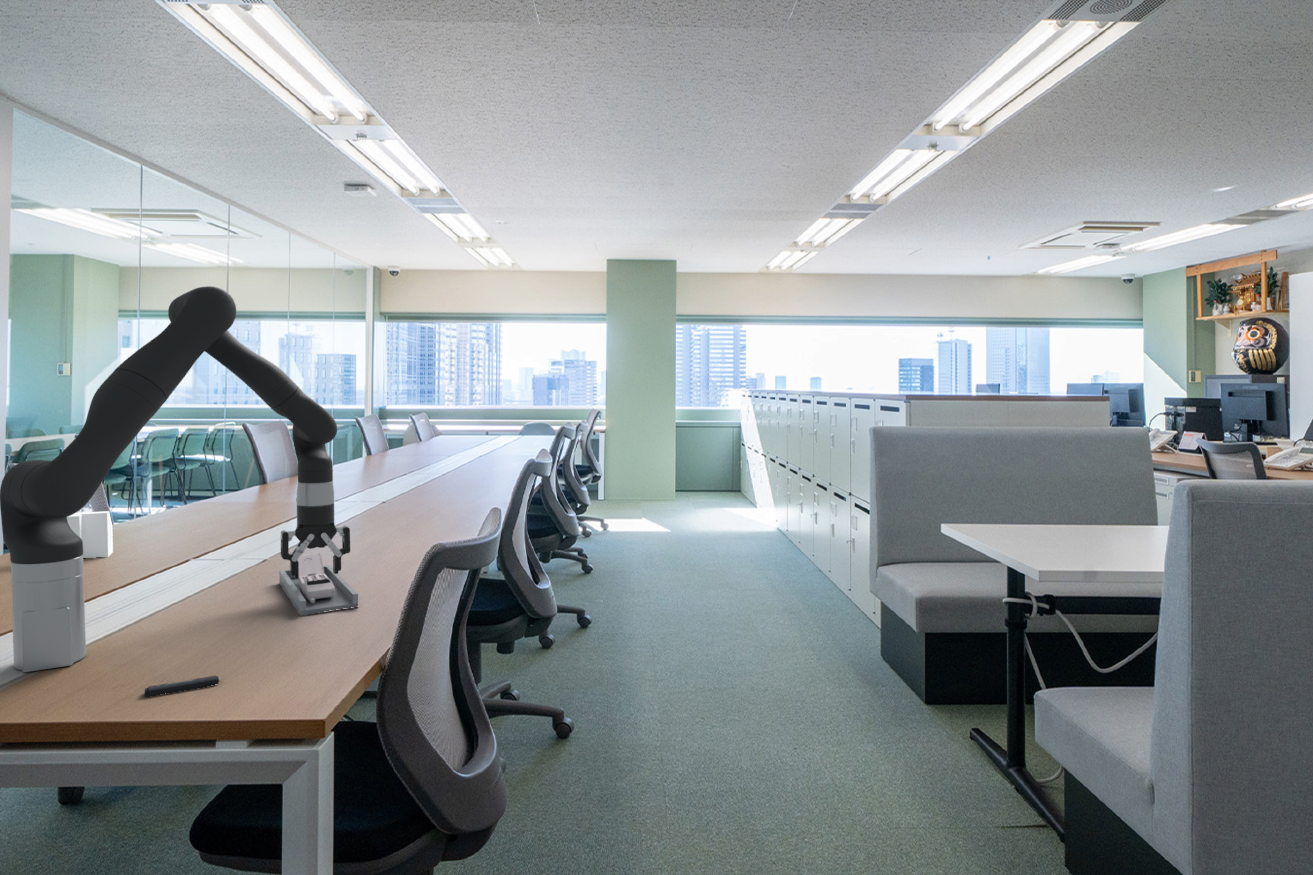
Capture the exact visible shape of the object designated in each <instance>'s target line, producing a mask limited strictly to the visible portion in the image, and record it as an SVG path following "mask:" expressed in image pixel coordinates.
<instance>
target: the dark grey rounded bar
mask: <svg viewBox="0 0 1313 875" xmlns="http://www.w3.org/2000/svg"><path fill="white" fill-rule="evenodd" d="M219 682H220V679H219V676H217V675H210V676H206V677H205V676H204V677H200V678H199V677H198V678H193V679H192V678H191V679H187V680H179V681H175V682H174V681H173V682H168V683H167V682H166V683H162V684H156V685H149V686H147V687H145V689H144V697H145V698H151V697H150V696H153V697H157V696H156V695H159V696H161V695H160V694H165V693H166V694H165V695H168V694H167V693H170V694H174V693H173V692H176V693H180V692H179V691H182V692H185V691H184V690H188V691H192V690H191V689H194V690H198V689H197V688H200V689H204V688H203V687H205V688H208V687H207V686H211V685H215V684H218V685H219ZM211 687H212V686H211Z"/></svg>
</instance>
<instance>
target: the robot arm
mask: <svg viewBox="0 0 1313 875" xmlns="http://www.w3.org/2000/svg"><path fill="white" fill-rule="evenodd" d="M167 312H168V313H167V314H168V319H169V321H170V323H169V324H168V325H167V326H166V327H165V329H163V330H162V331H161V332H160V333H159V334H158V335H157V336H155V337H154V338H153V339H151V340H150V341H148V342H147V343H145V344H144V345H143V346H141V347H140V348H139V349H138V350H136V351H134V353H132V354H131V355H129V357H127V358H126V359H125V360H123V361H122V363H121V364H120V365H118V366H117V367H116V368H115V369H114V371H112V373H111V374H109V375H108V377H107V378H106V379H104V381H103V382H102V383H101V385H100V386H99V387H98V388H97V389H96V391H95V393H94V395H93V396H92V398H91V401H90V404H89V408H88V411H87V416H86V419H85V422H84V425H83V426H82V428H81V430H80V431H79V433H78V434H77V436H76V437H75V438H74V439H73V440H72V441H71V443H69V445H67V447H65V449H64V450H63V451H61V452H60V453H59V454H58V455H57V456H56V457H55V458H53V459H52V460H46V459H31V460H25V461H21V462H18V463H17V464H15V465H14V466H12V467H10V468H9V470H7V472H6V473H5V475H4V476H3V478H2V481H1V485H0V516H1V518H0V519H1V529H2V530H1V531H2V537H3V541H4V544H5V547H7V549H8V552H9V557H10V558H9V561H10V577H11V578H10V584H11V585H10V587H11V589H10V590H11V594H10V595H11V619H12V620H11V622H12V644H13V645H12V648H13V649H12V650H13V668H14V669H16V670H19V671H22V673H27V672H35V671H42V670H47V669H48V670H49V669H55V668H61V667H62V668H63V667H68V666H73V664H74V663H76V662H79V661H80V660H83V659H84V658H85V657H86V656H87V652H86V651H87V643H86V641H87V640H86V639H87V638H86V616H85V615H86V613H85V612H86V610H85V608H86V606H85V577H84V576H85V575H84V570H85V569H84V559H83V542H82V539H81V538H80V537H79V536H78V535H77V534H75V533H74V532H73V531H72V529H71V528H70V526H69V524H68V521H67V517H68V516H70V515H73V514H75V513H79V511H81V510H82V509H83V508H84V507H85V506H86V505H87V504H88V503H89V502H90V501H91V499H92V497H93V496H94V495H95V493H96V492H97V490H98V489H99V487H100V486H101V484H102V482H103V481H104V479H106V476H107V475H108V473H109V472H110V470H112V469H111V468H112V467H113V466H114V464H115V462H117V460H118V459H119V457H120V456H121V455H122V453H123V452H124V451H125V450H126V449H127V448H128V447H129V445H130V444H131V443H132V442H133V440H134V439H135V438H136V437H137V436H138V434H140V432H141V431H142V429H143V428H144V427H145V425H146V424H148V422H149V421H150V420H151V419H152V418H153V417H154V416H155V415H156V413H157V412H158V411H159V410H160V409H161V408H162V406H163V405H164V404H165V403H166V401H167V400H168V399H169V397H170V396H171V395H172V393H173V392H174V391H175V390H176V389H177V387H178V386H179V385H180V383H181V382H182V381H183V380H184V379H185V377H186V375H187V374H188V373H189V371H191V369H192V367H193V366H194V365H195V363H196V362H197V360H199V358H200V357H201V356H202V355H203V353H204V352H205V353H207V354H208V355H209V356H210V357H212V358H213V359H214V360H216V361H217V362H218V363H220V364H221V365H222V366H224V367H225V368H226V369H228V371H229V372H231V373H233V375H235V376H237V378H238V379H239V380H240V381H242V383H244V384H245V385H246V386H247V387H249V388H250V389H251V391H253V392H254V393H255V394H256V395H257V396H258V397H259V398H260V399H261V401H263V402H264V403H265V404H266V405H267V406H268V407H269V408H271V410H272V411H273V412H275V414H278V415H279V416H281V417H284V418H286V419H287V420H288V421H289V422H291V423H292V442H293V446H294V452H295V456H296V459H297V486H296V487H297V489H296V499H295V501H296V529H295V530H292V531H291V530H289V531H286V530H282V531H280V556H281V558H282V560H285V561H286V560H287V561H289V564H290V565H289V568H290V569H289V570H290V573H291V575H292V576H294V578H299V562H298V558H299V557H300V555H303V553H304V552H305V551H306V549H309V550H310V549H315V548H316V549H317V548H320V549H323V548H326V547H328V548H329V549H330V551H331V552H332V553H333V556H332V568H333V573H334V574H339V572H340V571H341V570H342V557H343V556H344V555H346V554H350V552H351V529H350V527H349V526H347V525H343V526H340V527H336V525H335V489H334V482H333V481H334V477H333V476H334V475H333V472H334V470H333V469H334V468H333V466H334V465H333V459H332V457H330V455H328V453H327V448H326V444H328V443H330V442H332V441H334V439H335V438H336V435H337V434H338V425H337V424H338V423H337V422H336V420H335V419H334V417H333V416H332V415H331V413H329V412H328V411H327V410H326V409H325V408H324V407H323V406H321V405H320V404H319V403H317V401H315V400H314V399H312V398H311V397H310V396H308V395H307V394H306V393H304V391H303V390H302V389H301V388H300V387H299V386H298V385H297V384H296V382H295V381H293V380H292V379H291V378H290V377H289V375H287V373H286V372H284V371H283V370H282V369H281V368H280V367H279V366H277V365H276V364H274V363H273V362H271V361H270V360H268V359H267V358H265V357H263V356H261V355H260V354H258V353H256V352H255V351H253V350H251V349H250V348H248V347H247V346H245V344H243V343H241V342H240V341H239V340H238V339H236V337H235V336H233V335H232V334H231V333H230V330H229V329H230V328H231V327H232V326H233V324H234V322H235V321H236V316H237V306H236V303H235V299H234V298H233V297H232V295H231V294H230V293H228V291H226V290H224V289H222V288H221V287H218V286H200V287H196V288H193V289H192V290H189V291H188V292H185V293H183V294H181V295H179V296H177V297H176V298H174V299H173V300H172V301H171V302H170V305H169V306H168V310H167ZM337 533H338V535H339V536H340V537H341V547H342V548H339V547H338V546H337V545H336V544H335V543H334V541H333V539H334V537H335V536H336V534H337ZM294 537H295V538H297V539H298V542H297V545H295V548H294V549H293V551H292V552H291V553H289V545H290V544H289V543H290V542H291V541H292V540H293V538H294Z"/></svg>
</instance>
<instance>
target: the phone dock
mask: <svg viewBox="0 0 1313 875" xmlns="http://www.w3.org/2000/svg"><path fill="white" fill-rule="evenodd" d="M323 568H324V573H325V575H326V576H327V577H328V578H329V579H330V580H331V581H332V583H333V585H334V588H335V596H334V597H327V598H319V599H315V603H311V602H310V601H309V600H308V599H307V598H306V597H305V595H304V594H303V592H302V590H301V587H300V585H299V578H294V576H292V575H291V573H290V569H282V570H279V571H278V573H279V576H278V577H279V581H278V582H279V585H280V587H282V588H281V589H282V590H283V591H284V593H285V594H286V596H287V597H288V598H289V601H290V602H291V603H292V605H293V606H294V608H295V610H296V609H297V610H296V611H297V613H298V612H299V613H298V614H299V616H300V617H302V615H304V616H309V615H308V614H311V615H314V614H313V613H318V612H324V611H329V610H336V609H343V608H351V607H357V606H358V607H359V593H358V592H357V591H356V590H355V589H354V588H353V587H352V586H351V585H350V584H349V583H348V582H347V581H346V580H345V579H344V578H343V577H342V576H341V574H339V573H338V574H334V573H333V566H331V564H329V565H323ZM318 614H319V613H318Z"/></svg>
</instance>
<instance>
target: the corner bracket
mask: <svg viewBox="0 0 1313 875" xmlns="http://www.w3.org/2000/svg"><path fill="white" fill-rule="evenodd" d="M67 521H68V524H69V526H70V528H71V529H72V531H73V532H74V533H75V534H77V535H78V536H79V537H80V538H81V539H82V542H83V558H93V559H97V558H96V557H107V558H109V557H110V556H111V555H112V554H113V552H114V538H113V537H114V536H113V534H114V533H113V532H114V531H113V530H114V529H113V522H112V518H111V513H110V510H107V511H106V510H104V511H87V512H86V511H85V512H82V511H80V512H76V513H75V514H73V515H70V516H68V517H67Z"/></svg>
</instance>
